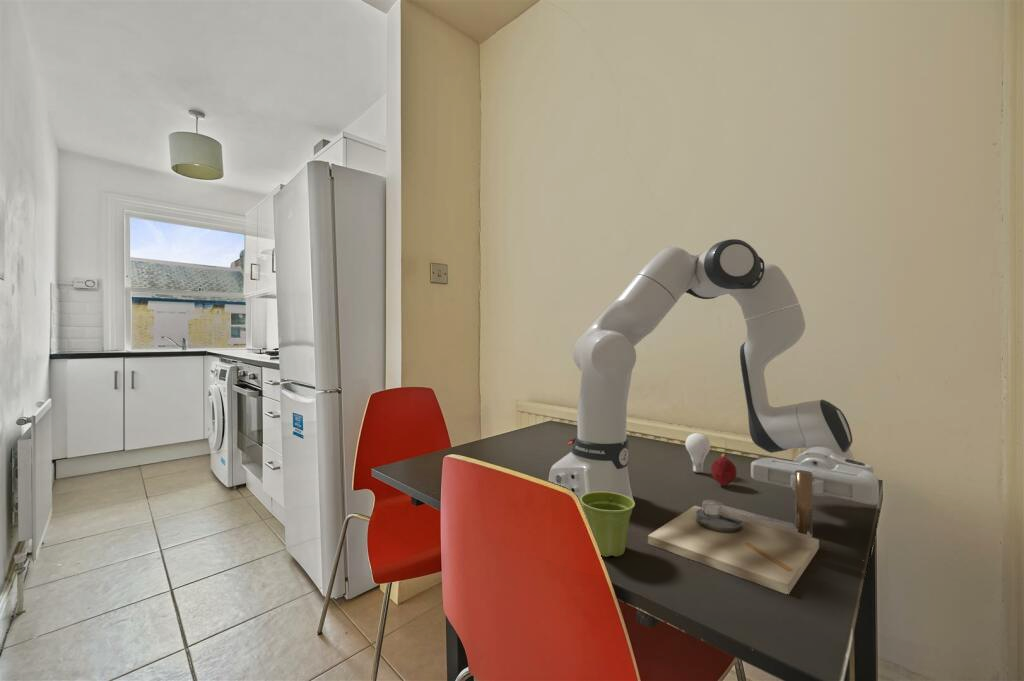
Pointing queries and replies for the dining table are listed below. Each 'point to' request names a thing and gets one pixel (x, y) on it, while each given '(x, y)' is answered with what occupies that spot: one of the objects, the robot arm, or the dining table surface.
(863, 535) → the dining table surface
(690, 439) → the lightbulb
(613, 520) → the plant pot
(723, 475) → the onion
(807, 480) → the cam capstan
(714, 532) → the stand
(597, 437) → the robot arm
